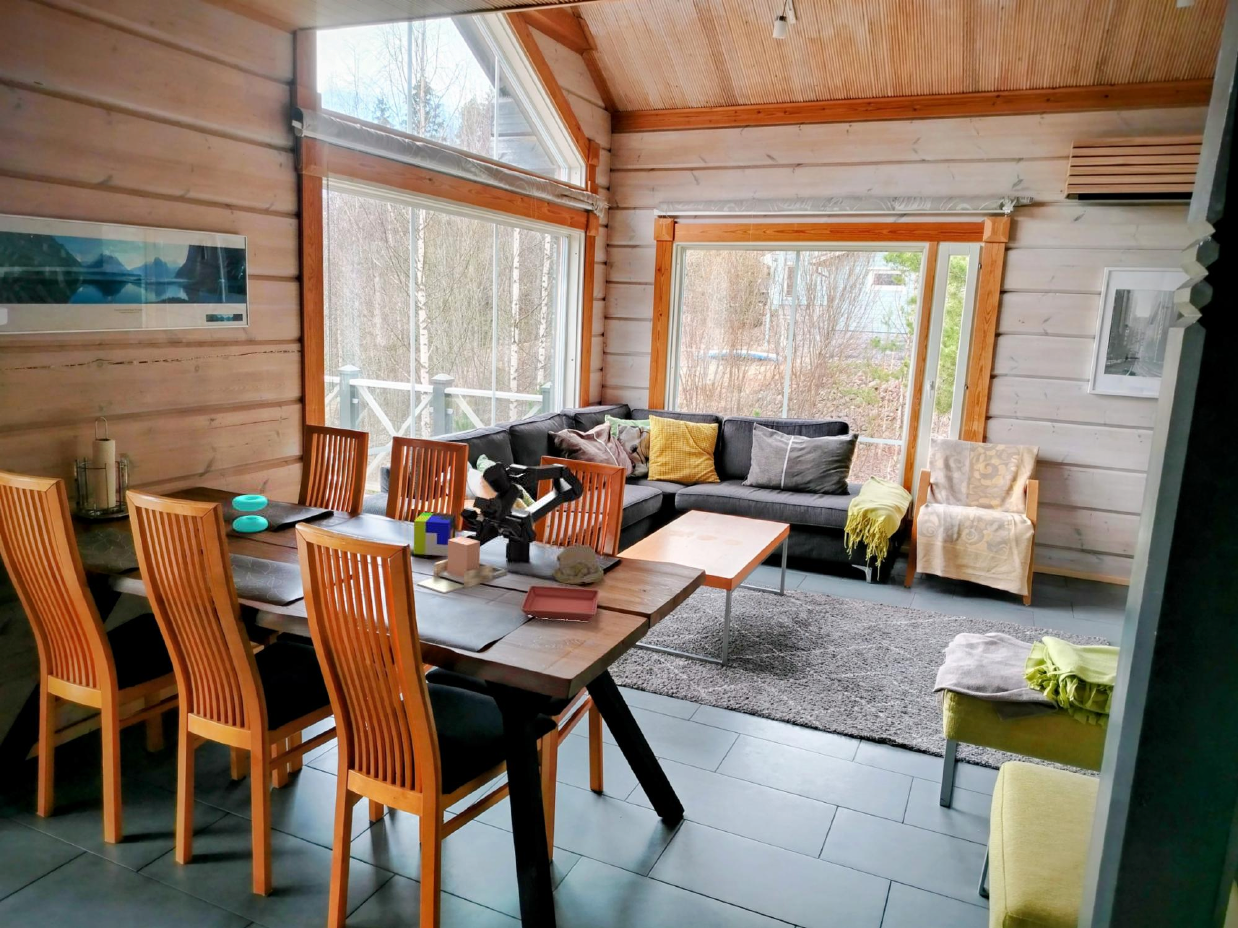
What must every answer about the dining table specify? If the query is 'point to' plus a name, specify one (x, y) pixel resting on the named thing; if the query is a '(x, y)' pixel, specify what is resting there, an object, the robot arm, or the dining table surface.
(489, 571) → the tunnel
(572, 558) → the ceramic model
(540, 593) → the plant saucer
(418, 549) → the puzzle toy
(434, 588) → the pad
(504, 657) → the dining table surface
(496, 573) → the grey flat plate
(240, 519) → the donuts
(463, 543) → the block sled
